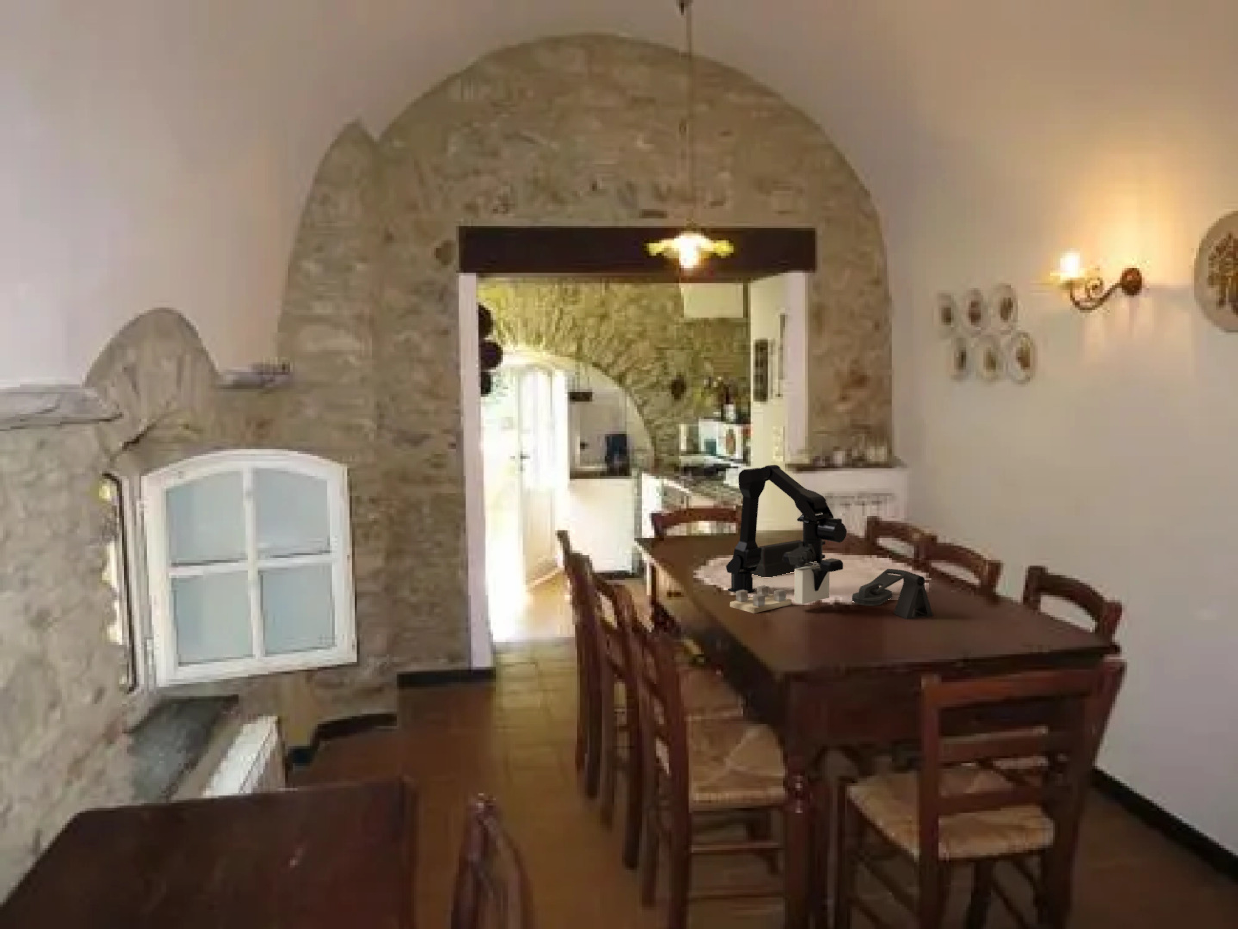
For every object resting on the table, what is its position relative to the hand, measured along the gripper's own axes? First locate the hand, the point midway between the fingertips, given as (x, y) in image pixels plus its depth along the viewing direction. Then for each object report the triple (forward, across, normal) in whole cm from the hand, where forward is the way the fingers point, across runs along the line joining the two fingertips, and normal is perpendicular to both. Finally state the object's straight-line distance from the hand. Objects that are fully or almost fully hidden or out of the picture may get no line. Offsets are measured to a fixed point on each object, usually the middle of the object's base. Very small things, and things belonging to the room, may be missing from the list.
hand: (812, 589), depth 289 cm
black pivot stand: (+6, +24, +16) cm, 29 cm away
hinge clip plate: (+6, -12, -9) cm, 16 cm away
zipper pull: (+6, +4, +27) cm, 28 cm away
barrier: (+6, -40, +31) cm, 51 cm away
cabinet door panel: (+3, 0, 0) cm, 3 cm away
